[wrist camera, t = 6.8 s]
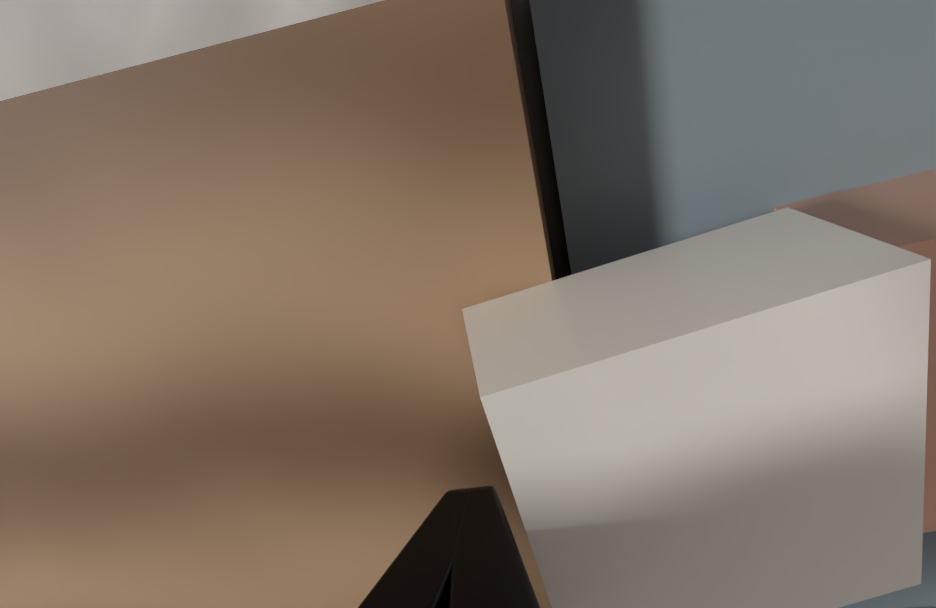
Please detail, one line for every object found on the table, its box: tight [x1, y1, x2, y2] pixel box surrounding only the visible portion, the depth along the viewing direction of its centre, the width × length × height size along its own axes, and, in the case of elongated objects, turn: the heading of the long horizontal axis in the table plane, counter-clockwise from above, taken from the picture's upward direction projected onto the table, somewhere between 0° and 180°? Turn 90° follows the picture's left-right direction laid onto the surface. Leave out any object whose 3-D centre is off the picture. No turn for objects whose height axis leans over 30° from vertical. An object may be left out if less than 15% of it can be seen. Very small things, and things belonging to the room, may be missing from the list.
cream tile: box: [462, 207, 931, 608], centre depth 8 cm, size 5×5×2 cm
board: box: [0, 0, 556, 608], centre depth 12 cm, size 14×17×2 cm
